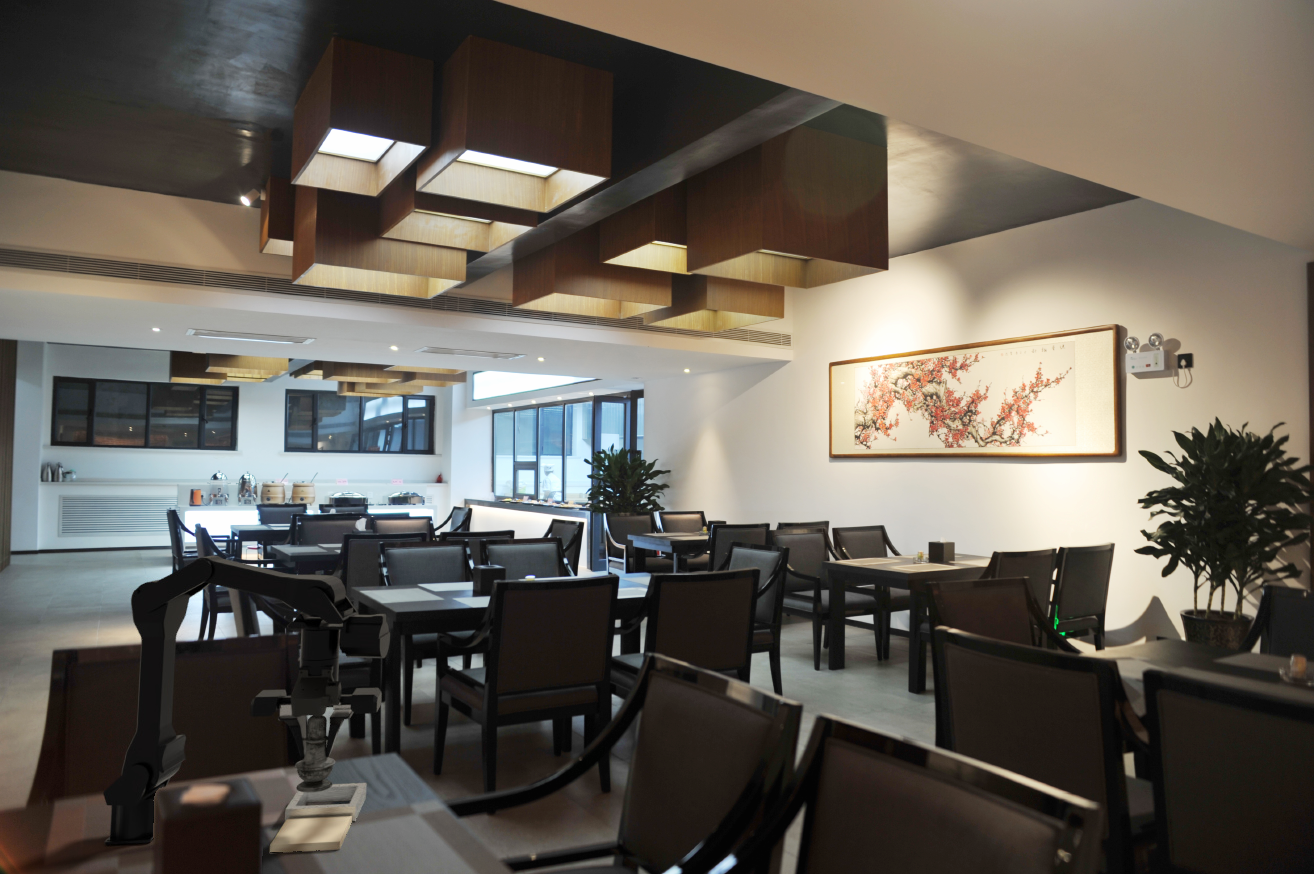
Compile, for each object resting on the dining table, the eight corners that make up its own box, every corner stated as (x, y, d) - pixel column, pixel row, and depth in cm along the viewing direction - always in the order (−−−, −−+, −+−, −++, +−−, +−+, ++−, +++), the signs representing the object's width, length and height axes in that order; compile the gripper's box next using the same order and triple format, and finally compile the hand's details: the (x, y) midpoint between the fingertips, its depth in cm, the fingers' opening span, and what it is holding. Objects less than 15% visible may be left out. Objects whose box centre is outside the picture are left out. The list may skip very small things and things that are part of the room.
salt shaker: (320, 794, 130) (323, 715, 131) (286, 790, 132) (289, 712, 132) (341, 781, 136) (344, 705, 137) (308, 778, 137) (311, 702, 138)
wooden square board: (269, 852, 127) (270, 844, 128) (286, 826, 137) (287, 818, 137) (339, 849, 129) (339, 841, 129) (351, 822, 139) (351, 815, 139)
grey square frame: (284, 824, 138) (285, 809, 138) (300, 799, 148) (301, 785, 149) (355, 821, 140) (355, 805, 140) (366, 797, 150) (366, 782, 150)
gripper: (241, 669, 125) (236, 776, 125) (373, 666, 129) (369, 771, 128) (262, 653, 136) (258, 752, 135) (383, 652, 140) (379, 748, 139)
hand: (315, 756), depth 134 cm, fingers closed on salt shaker, 3 cm apart
